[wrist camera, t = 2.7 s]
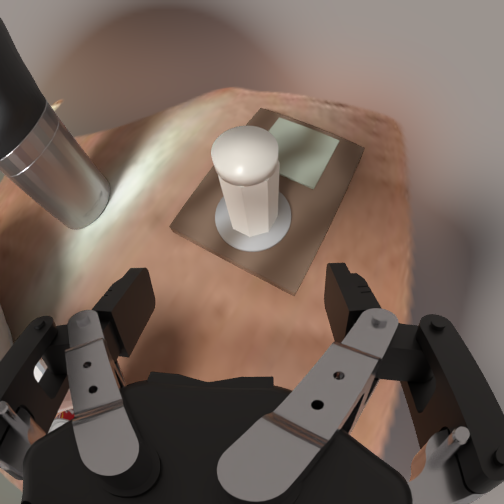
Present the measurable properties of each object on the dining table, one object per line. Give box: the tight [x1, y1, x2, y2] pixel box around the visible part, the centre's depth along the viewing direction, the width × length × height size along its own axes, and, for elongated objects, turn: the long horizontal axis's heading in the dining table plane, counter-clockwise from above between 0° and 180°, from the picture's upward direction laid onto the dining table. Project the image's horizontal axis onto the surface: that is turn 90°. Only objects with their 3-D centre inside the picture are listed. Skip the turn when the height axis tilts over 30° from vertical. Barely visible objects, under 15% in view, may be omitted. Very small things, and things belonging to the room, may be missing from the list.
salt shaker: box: [211, 126, 280, 237], centre depth 26 cm, size 5×5×11 cm
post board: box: [169, 108, 364, 296], centre depth 30 cm, size 16×22×9 cm
